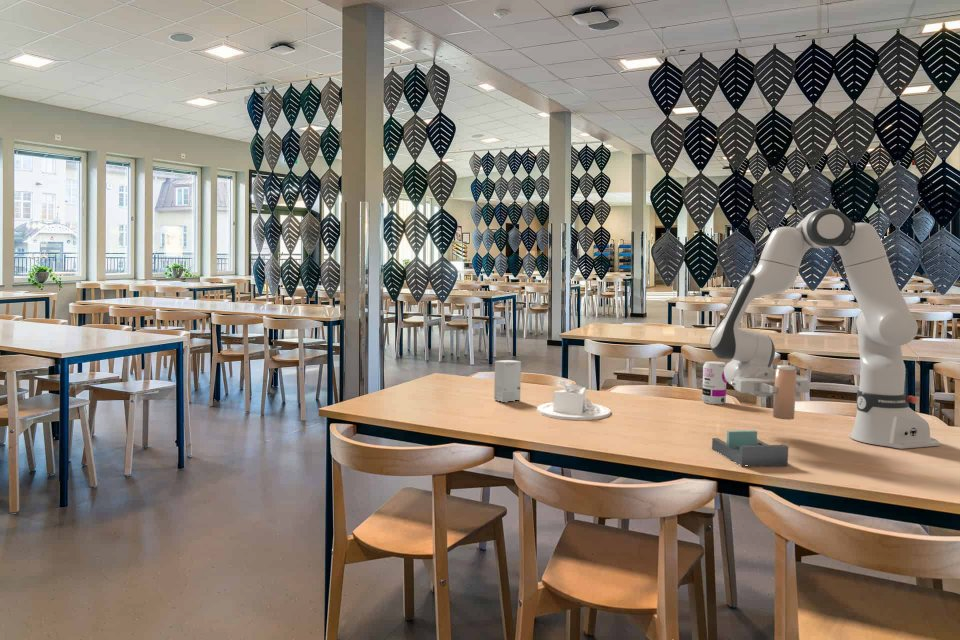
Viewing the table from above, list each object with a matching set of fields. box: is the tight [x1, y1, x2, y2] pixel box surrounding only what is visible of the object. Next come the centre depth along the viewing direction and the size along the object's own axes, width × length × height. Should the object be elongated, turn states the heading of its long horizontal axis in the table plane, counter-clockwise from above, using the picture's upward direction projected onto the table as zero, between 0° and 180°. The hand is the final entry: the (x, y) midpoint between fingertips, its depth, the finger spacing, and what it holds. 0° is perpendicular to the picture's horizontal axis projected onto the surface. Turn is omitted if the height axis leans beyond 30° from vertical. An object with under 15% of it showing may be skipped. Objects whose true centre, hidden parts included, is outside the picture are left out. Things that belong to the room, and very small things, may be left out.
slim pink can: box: [772, 364, 798, 421], centre depth 178 cm, size 5×5×14 cm
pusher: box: [726, 429, 758, 450], centre depth 174 cm, size 8×4×6 cm, turn 96°
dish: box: [536, 379, 612, 421], centre depth 224 cm, size 25×25×11 cm
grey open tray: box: [711, 437, 789, 467], centre depth 172 cm, size 12×16×5 cm
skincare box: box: [493, 359, 522, 403], centre depth 242 cm, size 8×6×15 cm
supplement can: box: [701, 360, 727, 406], centre depth 243 cm, size 8×8×15 cm
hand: (786, 389), depth 177 cm, fingers closed on slim pink can, 5 cm apart
